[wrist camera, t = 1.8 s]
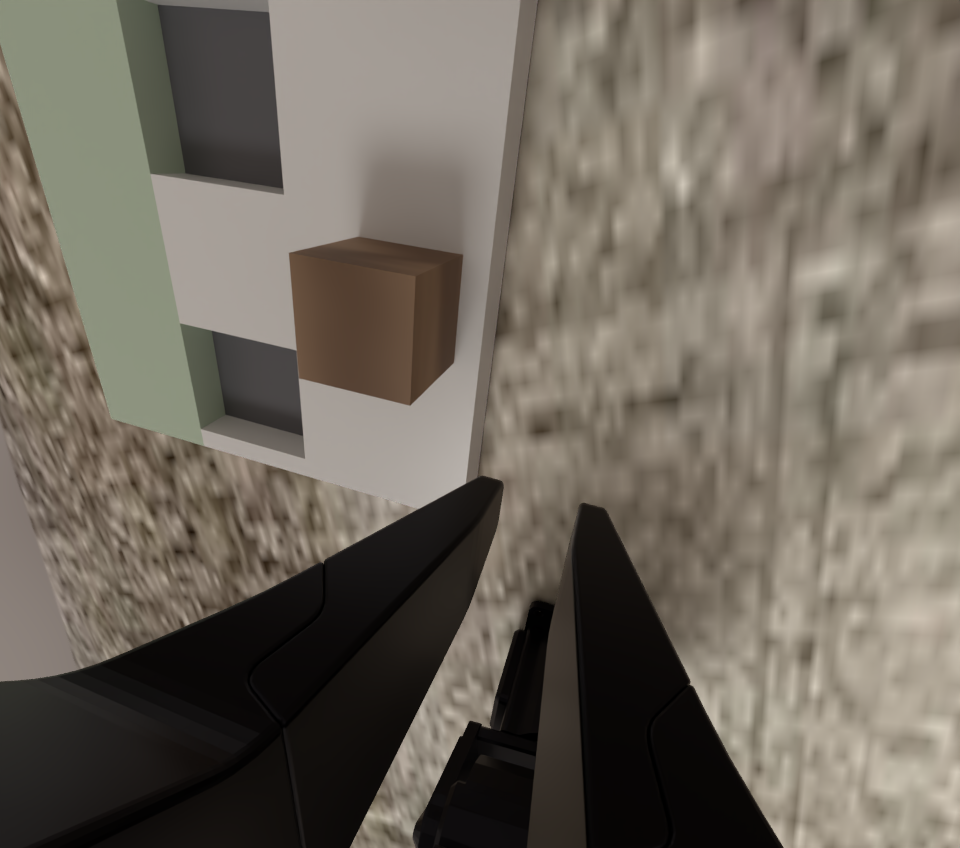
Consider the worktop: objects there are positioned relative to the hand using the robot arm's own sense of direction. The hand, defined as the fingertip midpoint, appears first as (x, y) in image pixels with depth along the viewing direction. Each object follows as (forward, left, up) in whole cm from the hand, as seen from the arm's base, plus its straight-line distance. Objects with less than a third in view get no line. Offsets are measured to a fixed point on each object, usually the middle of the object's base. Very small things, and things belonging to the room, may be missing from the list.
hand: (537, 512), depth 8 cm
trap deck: (+14, 0, -12) cm, 18 cm away
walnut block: (+7, 0, -10) cm, 12 cm away
